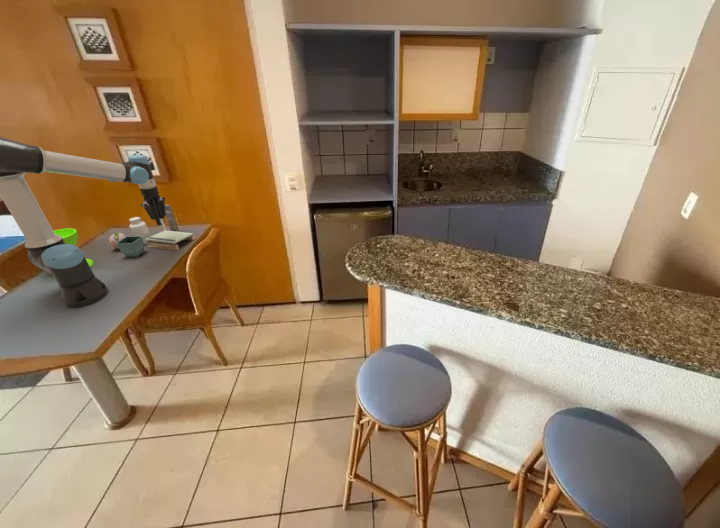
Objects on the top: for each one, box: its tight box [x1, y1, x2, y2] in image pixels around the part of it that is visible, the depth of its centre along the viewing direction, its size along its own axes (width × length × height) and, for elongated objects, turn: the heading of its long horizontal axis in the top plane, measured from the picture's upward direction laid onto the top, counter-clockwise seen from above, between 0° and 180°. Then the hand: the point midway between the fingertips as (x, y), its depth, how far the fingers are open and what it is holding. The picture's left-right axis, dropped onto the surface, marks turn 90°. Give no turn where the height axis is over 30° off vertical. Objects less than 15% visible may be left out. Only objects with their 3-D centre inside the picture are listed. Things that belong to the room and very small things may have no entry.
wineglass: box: [53, 227, 94, 267], centre depth 151 cm, size 16×16×18 cm
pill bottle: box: [128, 216, 152, 246], centre depth 175 cm, size 8×8×15 cm
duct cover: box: [145, 229, 194, 244], centre depth 175 cm, size 14×20×1 cm
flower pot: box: [116, 235, 145, 258], centre depth 164 cm, size 9×9×9 cm
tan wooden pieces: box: [145, 204, 196, 252], centre depth 175 cm, size 20×20×18 cm
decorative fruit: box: [108, 231, 127, 249], centre depth 170 cm, size 9×8×10 cm
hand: (163, 229), depth 168 cm, fingers closed
